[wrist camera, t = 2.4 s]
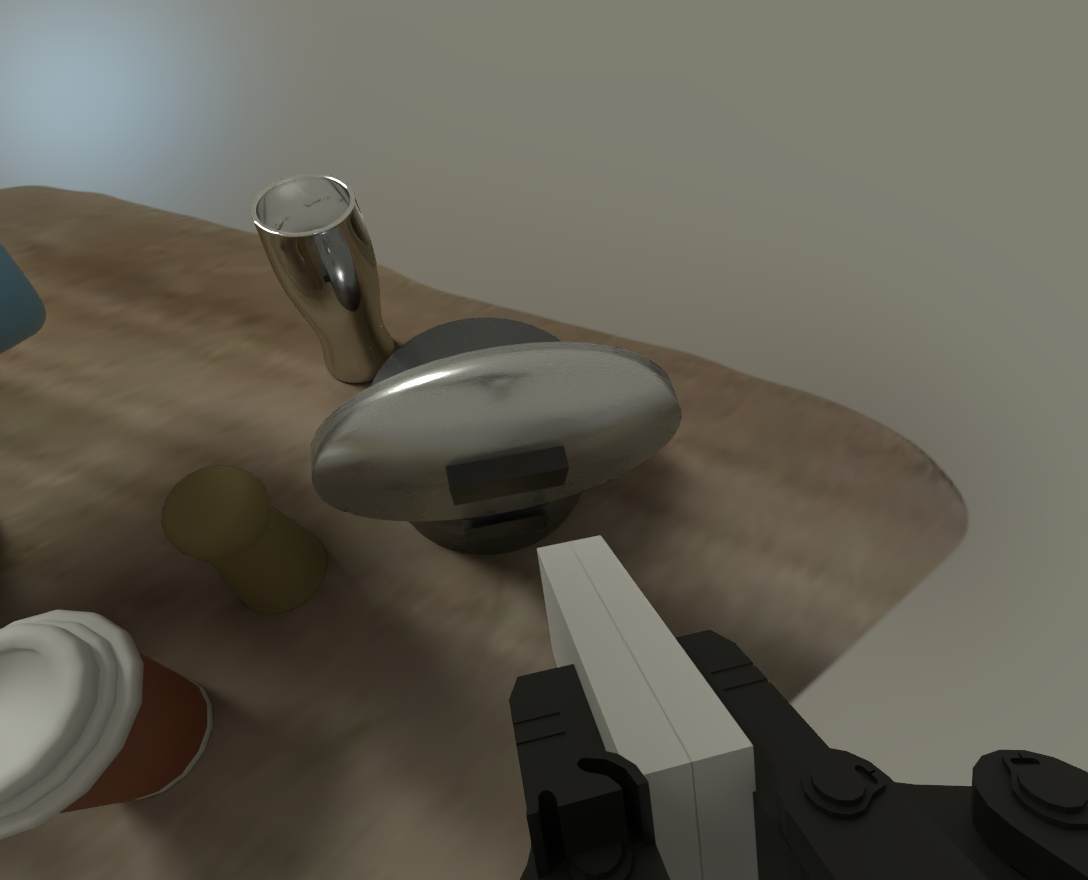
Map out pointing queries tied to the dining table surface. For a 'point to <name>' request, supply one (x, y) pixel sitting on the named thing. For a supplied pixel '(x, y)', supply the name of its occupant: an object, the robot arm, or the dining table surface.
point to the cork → (244, 538)
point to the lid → (493, 431)
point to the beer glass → (326, 269)
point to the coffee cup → (89, 719)
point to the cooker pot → (501, 528)
